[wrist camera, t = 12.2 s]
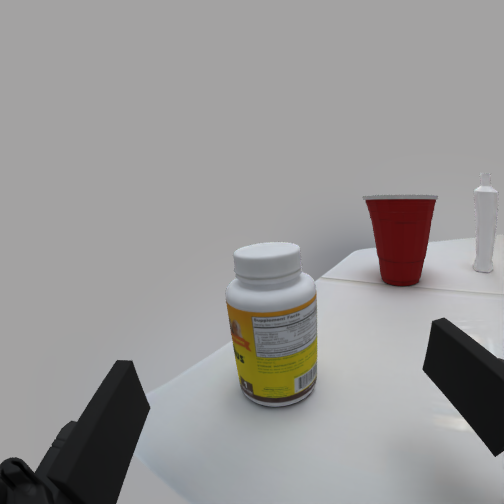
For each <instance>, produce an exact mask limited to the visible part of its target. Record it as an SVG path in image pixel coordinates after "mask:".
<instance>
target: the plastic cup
mask: <svg viewBox="0 0 504 504" xmlns="http://www.w3.org/2000/svg"><path fill="white" fill-rule="evenodd" d="M363 199H364V200H366V204H367V206H368V210H369V213H370V218H371V220H372V225H373V231H374V237H375V242H376V249H377V255H378V257H379V265H380V272H381V276H382V280H383V281H384V282H386V283H387V284H391V285H396V286H409V285H413V284H416V283H418V282H419V279H420V277H421V273H422V268H423V263H424V259H425V256H426V251H427V245H428V239H429V233H430V227H431V220H432V217H433V211H434V205H435V202H436V199H438V196H434V195H377V196H376V195H375V196H363Z"/></svg>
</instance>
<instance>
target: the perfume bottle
mask: <svg viewBox="0 0 504 504" xmlns="http://www.w3.org/2000/svg"><path fill="white" fill-rule="evenodd" d="M490 175H491V174H489V173H480V183H481V186H480V187H478V188H476V189H475V190H474V201H475V221H476V259H475V262H474V265H473V268H474V269H475V271H480V272H487V273H489V272H491V271H492V270H493V264H492V257H493V250H494V243H495V233H496V224H497V210H498V192H497V191H496V190H495V189H494V188H492V187H491V179H490Z"/></svg>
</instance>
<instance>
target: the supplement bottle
mask: <svg viewBox="0 0 504 504" xmlns="http://www.w3.org/2000/svg"><path fill="white" fill-rule="evenodd" d="M234 264H235V268H234V271H235V273H236V278H235V279H234V280H233V281H232V282H230V283H229V285H228V287H227V289H226V303H227V309H228V315H229V322H230V329H231V335H232V340H233V347H234V352H235V359H236V365H237V370H238V376H239V381H240V386H241V389H242V391H243V392H244V394H245V395H246V396H247V397H248V398H249V399H251V400H252V401H254V402H256V403H258V404H261V405H265V406H273V407H278V406H286V405H290V404H293V403H296V402H298V401H300V400H302V399H304V398H305V397H306V396H307V395H309V394H310V392H311V391H312V390H313V388H314V386H315V384H316V378H317V300H316V285H315V282H314V280H313V279H312V278H311V277H310V276H309V275H308V274H306V273H304V272H302V267H301V266H302V263H301V253H300V247H299V246H298V245H296V244H293V243H287V242H269V243H259V244H254V245H249V246H245V247H242V248H239V249H237V250H236V251H235V252H234Z"/></svg>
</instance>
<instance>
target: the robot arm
mask: <svg viewBox="0 0 504 504" xmlns="http://www.w3.org/2000/svg"><path fill="white" fill-rule="evenodd" d="M423 371H424V372H425V373H426V374H427V375H428V377H429V378H430V379H431V380H432V381H433V382H434V383H435V385H436V386H437V387H438V388H439V389H440V390H441V391H442V393H443V394H444V395H445V396H446V397H447V398H448V400H449V401H450V402H451V403H452V404H453V406H454V407H455V408H456V409H457V410H458V411H459V413H460V414H461V415H462V416H463V417H464V419H465V420H466V421H467V422H468V424H469V425H470V426H471V427H472V428H473V430H474V431H475V432H476V433H477V435H478V436H479V437H480V438H481V440H482V441H483V442H484V443H485V445H486V446H487V447H488V449H489V450H490V451H491V452H492V454H493V455H494V456H495V457H496V456H497V455H499V454H500V453H502V452H503V451H504V360H503V359H500V358H499V359H498V358H497V357H495V356H494V355H493V354H492V353H490V352H489V351H488V350H486V349H485V348H484V347H483V346H481V345H480V344H479V343H477V342H476V341H475V340H474V339H472V338H471V337H470V336H468V335H467V334H466V333H464V332H463V331H462V330H460V329H459V328H458V327H456V326H455V325H454V324H452V323H451V322H450V321H448V320H447V319H446V318H441V319H438V320H434V321H432V325H431V331H430V337H429V342H428V347H427V352H426V357H425V361H424V365H423ZM149 410H150V406H149V403H148V401H147V398H146V396H145V393H144V391H143V388H142V386H141V383H140V381H139V378H138V376H137V373H136V370H135V367H134V364H133V362H132V361H127V360H117V361H116V362H115V364H114V365H113V367H112V368H111V370H110V371H109V373H108V374H107V376H106V377H105V379H104V380H103V382H102V383H101V385H100V387H99V388H98V390H97V391H96V393H95V394H94V396H93V398H92V399H91V401H90V402H89V404H88V405H87V407H86V409H85V410H84V412H83V413H82V415H81V416H80V418H79V420H78V421H77V422H75V421H71V422H69V423H68V424H67V425H65V426H64V427H63V428H62V429H61V431H60V432H59V434H58V435H57V437H56V439H55V440H54V442H53V443H52V447H50V448H49V450H48V451H47V453H46V455H45V456H44V458H43V460H42V461H41V463H40V465H39V466H38V468H37V470H36V471H35V473H34V472H33V471H32V470H31V469H30V467H29V466H28V465H27V464H26V463H25V462H24V461H23V460H22V459H19V458H16V457H15V458H9V459H6V460H4V461H3V462H2V463H1V464H0V504H116V503H117V500H118V496H119V494H120V491H121V488H122V485H123V482H124V479H125V476H126V473H127V470H128V467H129V464H130V461H131V458H132V456H133V453H134V450H135V448H136V445H137V442H138V439H139V437H140V434H141V431H142V429H143V426H144V423H145V420H146V418H147V415H148V413H149Z"/></svg>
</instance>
